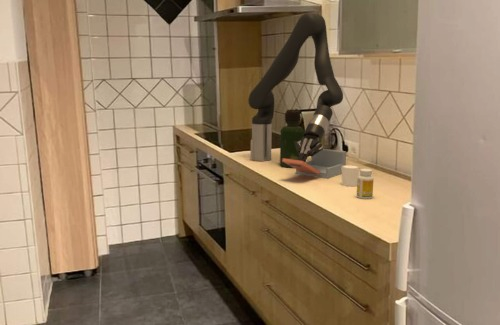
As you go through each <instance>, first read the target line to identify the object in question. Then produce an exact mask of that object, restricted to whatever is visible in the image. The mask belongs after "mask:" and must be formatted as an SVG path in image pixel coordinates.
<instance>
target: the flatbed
mask: <svg viewBox="0 0 500 325" xmlns="http://www.w3.org/2000/svg"><path fill="white" fill-rule="evenodd" d="M312 153H313V152H312ZM310 157H311V156H310ZM305 163H307V164H308V165H310V166H312V167H313V168H315V169H317V170H318V171H320V175H318V174H312V173H306V172H300V171H298V170H297V169H295V174H297V175H304V176H309V177H314V176H315V177H314V178H322V179H331V178H334V177H337V176H340V175H342V168H341V167H342V166H344V165H347V164H346V163H347V151H344V150H337V149H331V148H330V149H329V148H328V149H327V148H323V150H321V151H320V152H318V153H317V154H315V155H314V156H312V157H311V158H310V160H306V162H305Z"/></svg>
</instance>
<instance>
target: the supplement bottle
mask: <svg viewBox="0 0 500 325" xmlns="http://www.w3.org/2000/svg"><path fill="white" fill-rule="evenodd" d="M372 174H373V170H372V169H370V168H361V169H359V176H358V179H357V186H356V197H357V198H359V199H363V200H370V199H372V198H373V194H374V193H373V192H374V180H375V179H374V176H373V175H372Z"/></svg>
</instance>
